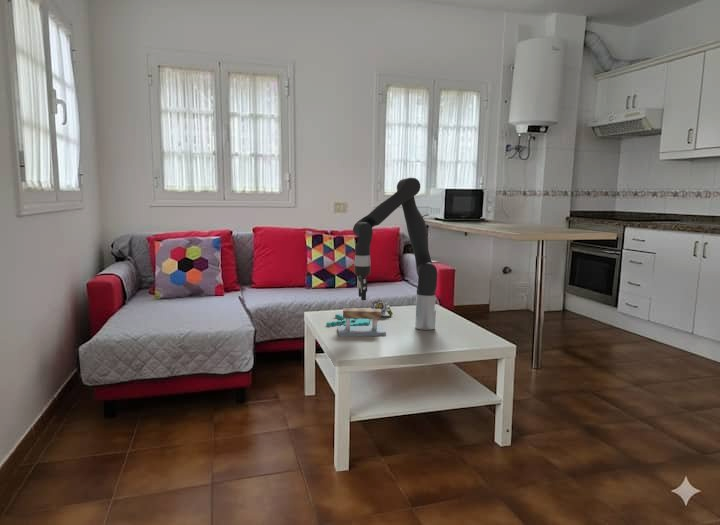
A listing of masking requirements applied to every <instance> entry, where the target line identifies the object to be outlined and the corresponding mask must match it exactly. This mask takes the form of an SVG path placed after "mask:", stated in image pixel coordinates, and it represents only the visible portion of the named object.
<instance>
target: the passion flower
mask: <svg viewBox="0 0 720 525" xmlns="http://www.w3.org/2000/svg"><path fill="white" fill-rule="evenodd" d="M370 309H381V316H383V317H385V316H386V313H387V314H388V315H389V318H390V317H392V315H394V314H393V312H392V310H391V307H390V305H389V301H388V300H386V301H383V300H382V298H378V299H377V300H375V301H374V300H373V301H371V305H370Z"/></svg>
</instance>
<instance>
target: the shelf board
mask: <svg viewBox="0 0 720 525" xmlns="http://www.w3.org/2000/svg"><path fill="white" fill-rule="evenodd" d="M342 315H343V318H351V319H371V320H372V319H377V320H381V319H382V314H381V309H371V308H361V307H359V308H357V307H356V308H352V307H348V308H347V307H344V308H342Z"/></svg>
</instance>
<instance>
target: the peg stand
mask: <svg viewBox="0 0 720 525" xmlns="http://www.w3.org/2000/svg"><path fill="white" fill-rule="evenodd" d="M371 321H372V324H371V325H368V326H350V318H346V326H344V325H337V326H336V330H337V333H338V336H339V337H366V336H367V337H373V336H376V337H380V336H384V337H385V336H387V331H386V330H385V328H384V327H383V326H382V325H378V319H371Z"/></svg>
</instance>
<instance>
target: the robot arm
mask: <svg viewBox="0 0 720 525" xmlns="http://www.w3.org/2000/svg"><path fill="white" fill-rule="evenodd" d="M420 190H421V182H420V180H418V179H417V178H416V177H412V176H411V177H405V178H402V179H400V180H399V181H398V182H397V185H396V192H394V193H393V195H391V196H390V197H388V198H387V199H385V200H384V201H383V202H381V203H379V204H378V205H377V206H376V207H375V208H374V209H373V210H371V211H370V212H369V213H368V214H366V215H365V216H364V217H362V218H361V219H359V220H358V221H357V222H355V224H354V225H353V227H352V232H353V235H355V236H356V237H358V240H357V243H355V246H354V265H353V266H354V272H353V273H354V275H355V276H357V288H358V297H359V298H360V301H366V300H367V292H368V279H367V277H366V276H369V275H371V244H372V238H373V228H374V227H377V226H379V225H380V224H382V223H383V222H384V221H385V220H386V219H387V218H388V217H389V216H390V215H391V214H392V213H394V212H395V210H397V209H398V208H399V207H400V206H401V207H402V210H403V216H404V221H405V223H406V228H407V230H406V231H407V233H408V238H409V242H410V244H411V247H412V250H413V251H412V252H413V253H414V254H413V255H414V259H415V260H414V261H415V268H416V273H417V276H418V278H417V280H418V281H417V288H416V297H415V298H416V301H415V302H416V303H415V304H416V305H415V322H414V323H415V326H414V327H415V329H418V330H420V331H421V330H422V331H424V330H425V331H431V330H436V321H437V320H436V315H437V310H436V291H437V288H438V287H437V285H438V269H437V267H436V265H434V264H433V262H432V258H431V255H430V250H429V234H428V229H427V225H426V224H427V223H426V222H425V221H426V220H425V219H424V216H422V214H421V212H420V210H419V208H418V206H417V204H416V200H415V196H416V195H417V194H419V192H420Z"/></svg>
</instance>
